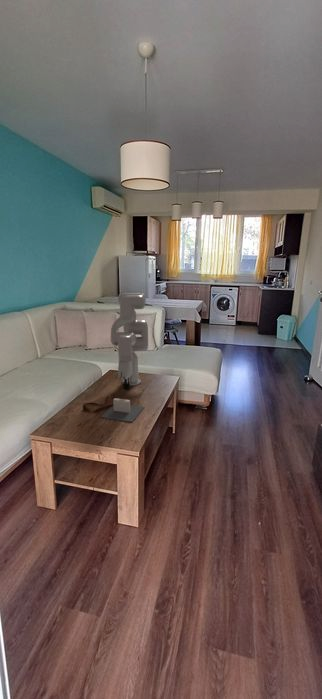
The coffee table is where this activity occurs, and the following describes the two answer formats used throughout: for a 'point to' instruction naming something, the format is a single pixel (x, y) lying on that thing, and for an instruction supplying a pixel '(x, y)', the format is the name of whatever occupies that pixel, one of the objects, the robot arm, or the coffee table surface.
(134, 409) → the mat
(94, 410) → the sunglasses case
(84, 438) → the coffee table surface
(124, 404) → the block
